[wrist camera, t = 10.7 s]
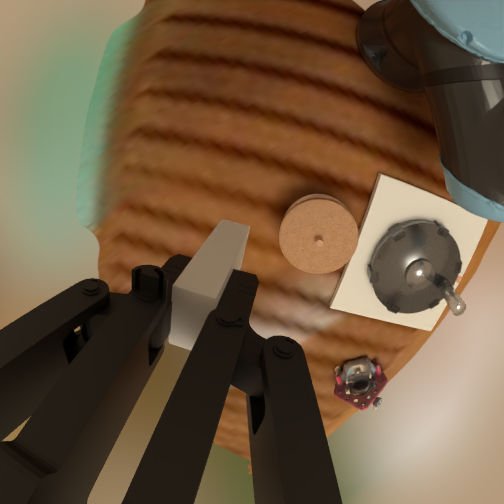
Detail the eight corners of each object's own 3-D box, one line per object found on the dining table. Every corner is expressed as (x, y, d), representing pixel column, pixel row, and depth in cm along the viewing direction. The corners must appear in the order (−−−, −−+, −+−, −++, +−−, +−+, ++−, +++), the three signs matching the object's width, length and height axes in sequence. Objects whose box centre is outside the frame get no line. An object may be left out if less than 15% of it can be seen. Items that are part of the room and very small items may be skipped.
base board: (378, 172, 41) (381, 174, 39) (483, 216, 40) (488, 220, 38) (329, 302, 52) (330, 308, 50) (428, 326, 51) (431, 331, 49)
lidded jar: (270, 203, 46) (262, 224, 38) (333, 174, 42) (341, 188, 34) (300, 260, 49) (299, 291, 41) (360, 235, 46) (372, 262, 37)
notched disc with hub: (351, 288, 48) (358, 323, 39) (400, 200, 40) (422, 221, 32) (421, 317, 48) (436, 351, 40) (470, 242, 40) (497, 268, 32)
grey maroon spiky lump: (381, 349, 52) (392, 407, 46) (381, 355, 60) (391, 404, 54) (325, 364, 55) (335, 421, 49) (334, 367, 64) (342, 416, 58)
